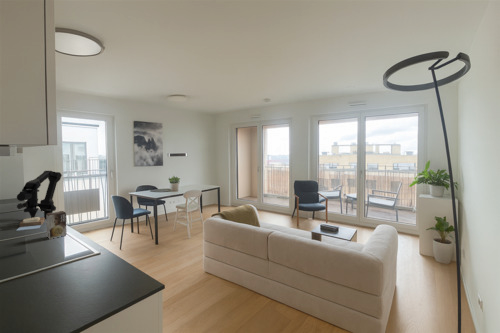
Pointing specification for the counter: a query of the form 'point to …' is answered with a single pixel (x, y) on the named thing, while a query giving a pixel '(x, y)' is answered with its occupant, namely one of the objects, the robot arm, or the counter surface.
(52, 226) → the coffee box
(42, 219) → the plate
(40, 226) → the mat
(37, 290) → the counter surface
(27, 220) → the tile
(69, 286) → the counter surface
